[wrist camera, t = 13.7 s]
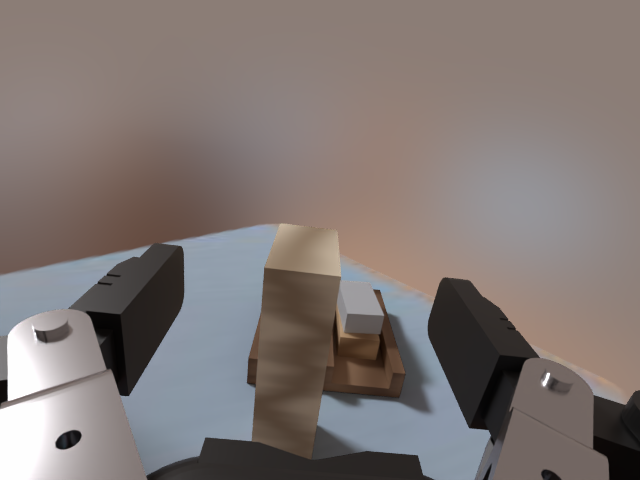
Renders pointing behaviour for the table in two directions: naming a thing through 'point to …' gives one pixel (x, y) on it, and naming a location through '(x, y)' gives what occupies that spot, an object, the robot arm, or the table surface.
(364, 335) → the oak offcut
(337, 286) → the birch board
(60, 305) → the table surface
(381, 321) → the grey offcut
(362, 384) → the rack
